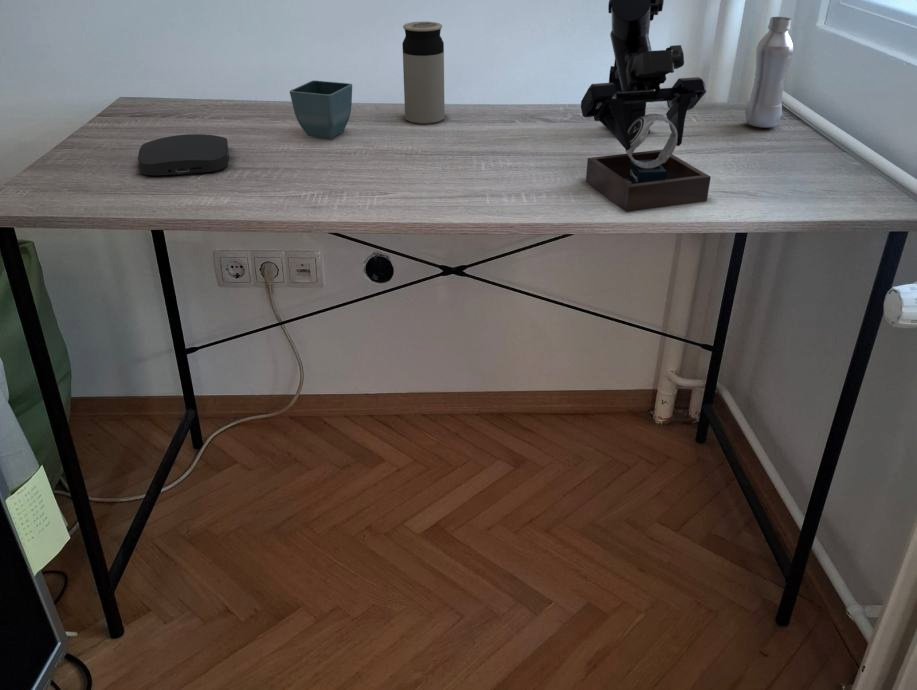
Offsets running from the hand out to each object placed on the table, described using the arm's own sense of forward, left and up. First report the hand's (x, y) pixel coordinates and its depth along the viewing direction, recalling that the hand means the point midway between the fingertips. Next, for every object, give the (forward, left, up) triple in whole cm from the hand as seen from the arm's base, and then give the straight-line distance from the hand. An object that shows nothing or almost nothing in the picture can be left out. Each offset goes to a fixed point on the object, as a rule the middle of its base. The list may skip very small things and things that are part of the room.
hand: (653, 146), depth 128 cm
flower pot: (-47, -43, -8) cm, 64 cm away
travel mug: (-51, -22, -8) cm, 56 cm away
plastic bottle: (-25, +39, -8) cm, 47 cm away
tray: (-1, 0, -8) cm, 8 cm away
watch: (-1, 0, -7) cm, 7 cm away
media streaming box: (-39, -69, -8) cm, 80 cm away
